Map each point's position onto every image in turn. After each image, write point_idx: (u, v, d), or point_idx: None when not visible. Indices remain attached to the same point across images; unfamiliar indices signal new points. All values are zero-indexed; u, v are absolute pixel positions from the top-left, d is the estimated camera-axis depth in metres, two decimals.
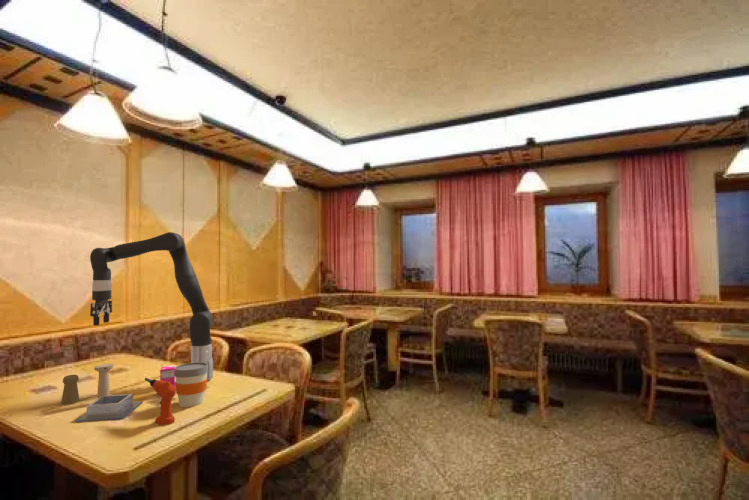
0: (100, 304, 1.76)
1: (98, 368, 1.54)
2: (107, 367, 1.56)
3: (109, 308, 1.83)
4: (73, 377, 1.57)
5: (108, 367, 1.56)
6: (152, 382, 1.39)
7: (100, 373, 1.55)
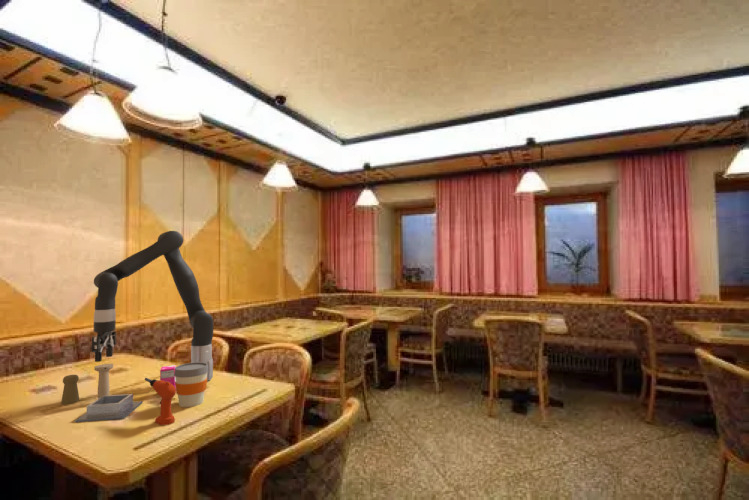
0: (103, 337, 1.55)
1: (98, 368, 1.54)
2: (107, 367, 1.56)
3: None
4: (73, 377, 1.57)
5: (108, 367, 1.56)
6: (152, 382, 1.39)
7: (100, 373, 1.55)
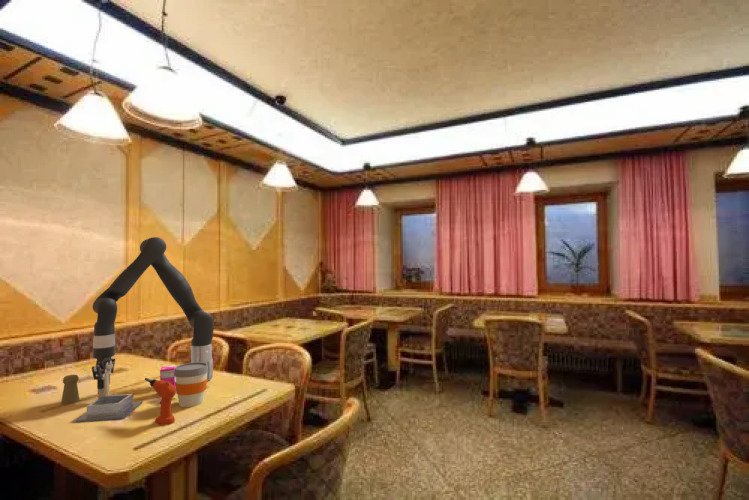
0: (102, 363, 1.54)
1: None
2: (107, 367, 1.56)
3: None
4: (73, 377, 1.57)
5: (108, 367, 1.56)
6: (152, 382, 1.39)
7: None
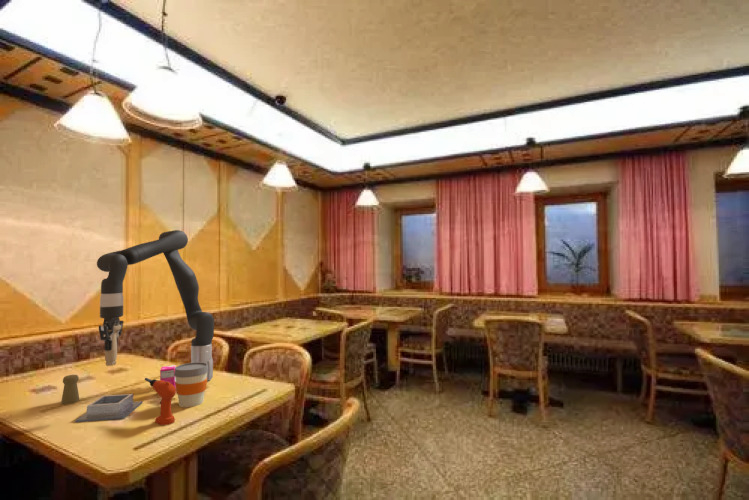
0: (110, 323, 1.44)
1: None
2: (115, 328, 1.46)
3: None
4: (73, 377, 1.57)
5: (116, 328, 1.46)
6: (152, 382, 1.39)
7: None
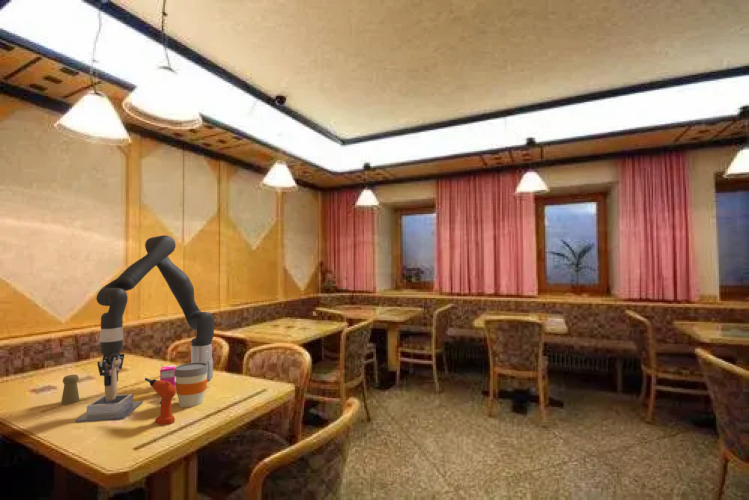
0: (109, 358, 1.43)
1: None
2: (114, 363, 1.45)
3: None
4: (73, 377, 1.57)
5: (115, 363, 1.45)
6: (152, 382, 1.39)
7: None
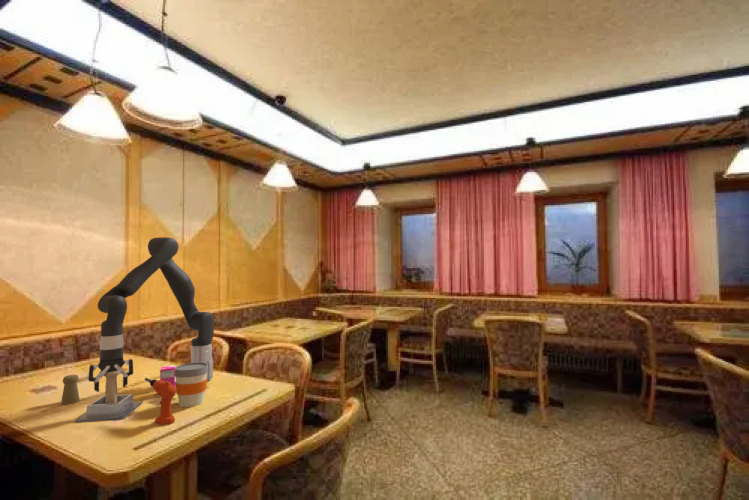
0: (101, 366, 1.43)
1: None
2: (107, 374, 1.44)
3: (122, 370, 1.47)
4: (73, 377, 1.57)
5: (108, 374, 1.44)
6: (152, 382, 1.39)
7: (106, 378, 1.45)
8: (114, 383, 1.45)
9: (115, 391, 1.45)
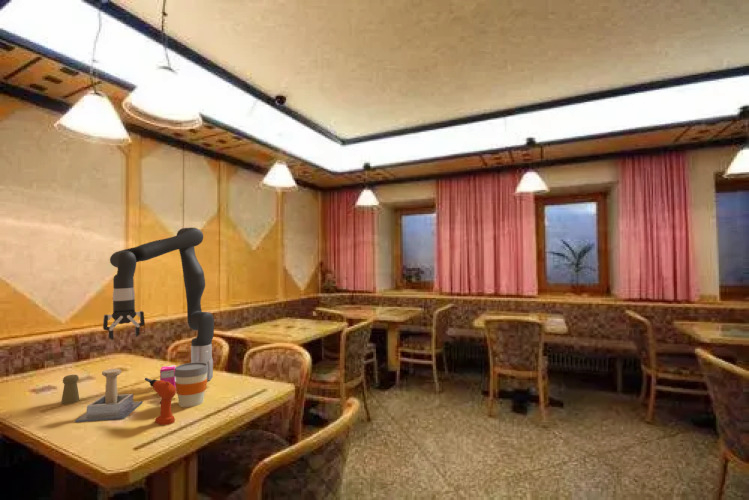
0: (115, 316, 1.53)
1: (102, 372, 1.45)
2: (107, 374, 1.44)
3: (134, 320, 1.57)
4: (73, 377, 1.57)
5: (108, 374, 1.44)
6: (152, 382, 1.39)
7: (106, 378, 1.45)
8: (114, 383, 1.45)
9: (115, 391, 1.45)
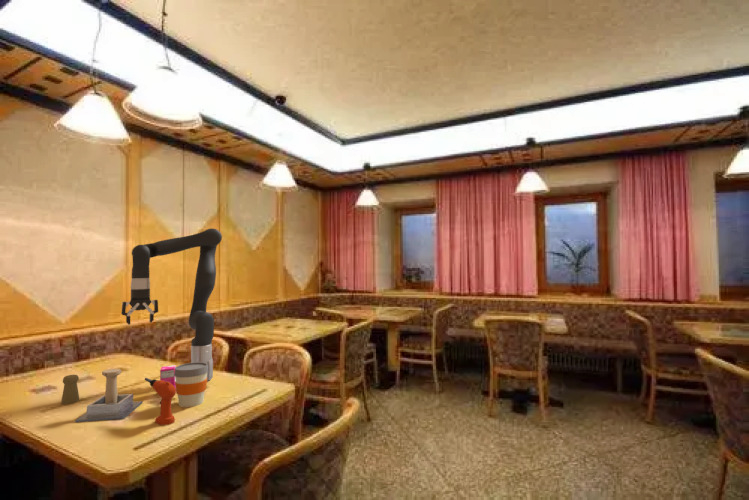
0: (132, 303, 1.70)
1: (102, 372, 1.45)
2: (107, 374, 1.44)
3: (149, 308, 1.74)
4: (73, 377, 1.57)
5: (108, 374, 1.44)
6: (152, 382, 1.39)
7: None
8: (114, 383, 1.45)
9: (115, 391, 1.45)
